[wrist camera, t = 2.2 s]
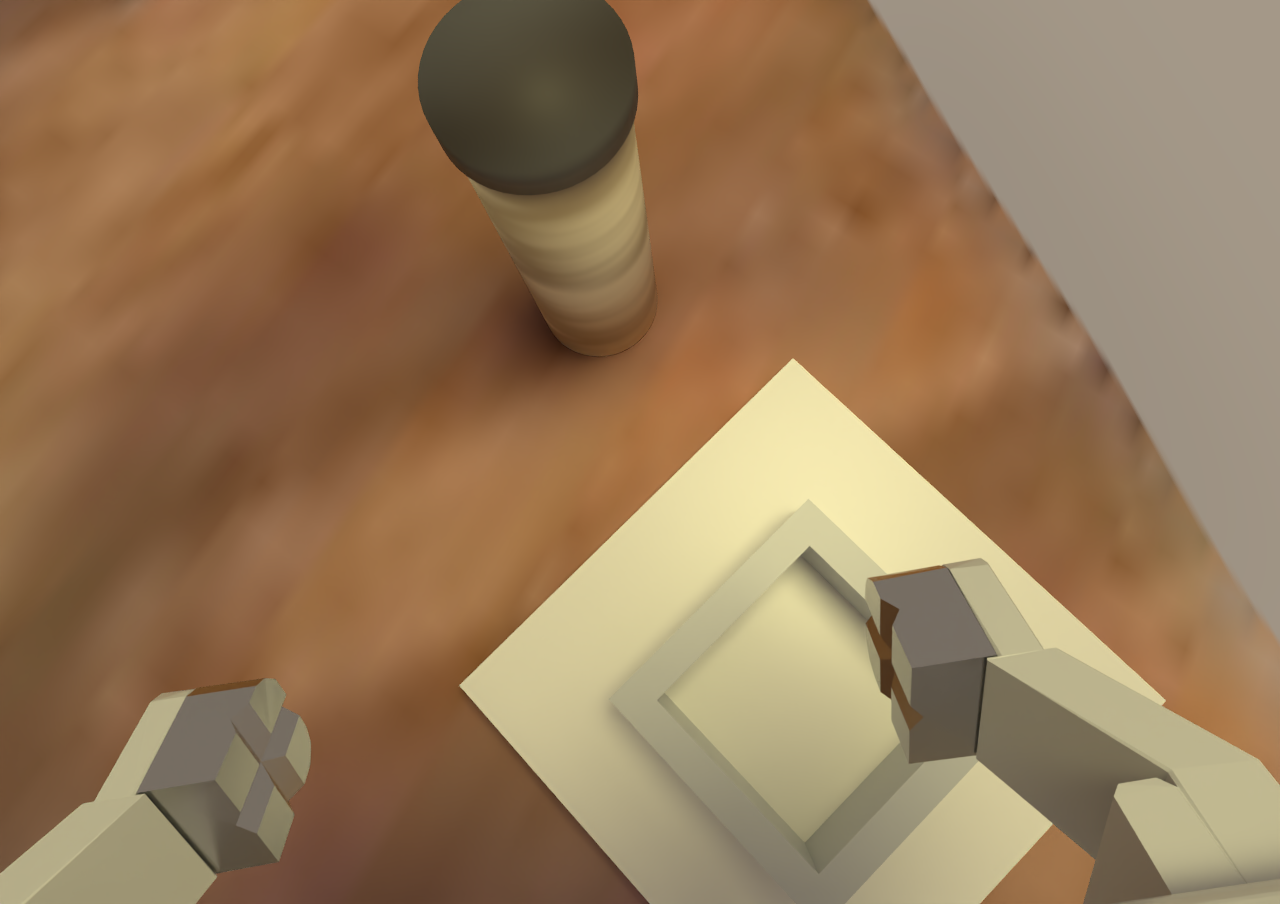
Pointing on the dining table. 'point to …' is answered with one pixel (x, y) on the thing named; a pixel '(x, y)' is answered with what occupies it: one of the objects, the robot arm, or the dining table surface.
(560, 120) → the peg
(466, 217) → the dining table surface
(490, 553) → the dining table surface
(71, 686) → the dining table surface
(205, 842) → the robot arm
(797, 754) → the holder
